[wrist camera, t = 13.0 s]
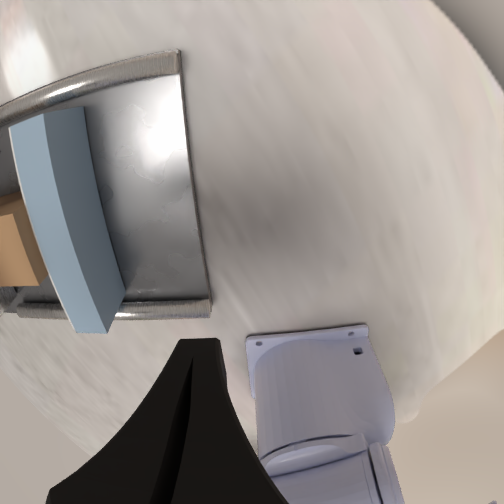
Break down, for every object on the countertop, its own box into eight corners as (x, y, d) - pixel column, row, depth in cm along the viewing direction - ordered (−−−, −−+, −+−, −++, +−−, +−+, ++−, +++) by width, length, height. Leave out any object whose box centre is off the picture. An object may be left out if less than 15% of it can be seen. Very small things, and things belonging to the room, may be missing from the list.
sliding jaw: (83, 106, 13) (43, 113, 10) (126, 292, 19) (107, 333, 16) (48, 117, 13) (5, 128, 10) (94, 293, 19) (72, 332, 16)
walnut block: (61, 181, 15) (12, 213, 11) (77, 240, 17) (38, 285, 13) (-17, 201, 15) (-60, 232, 11) (-1, 250, 17) (-38, 287, 13)
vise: (180, 51, 13) (157, 34, 9) (212, 304, 21) (206, 356, 17) (-51, 137, 13) (-92, 154, 9) (4, 306, 21) (-21, 340, 17)
